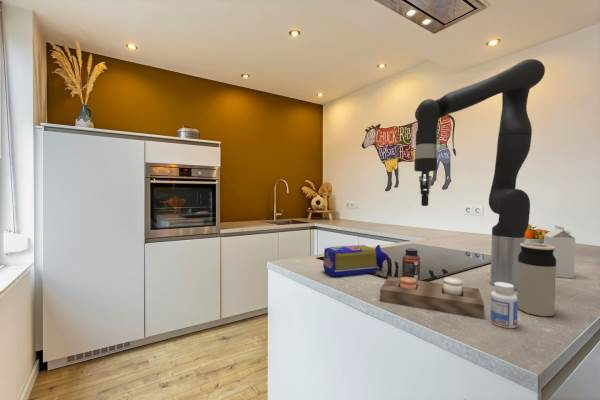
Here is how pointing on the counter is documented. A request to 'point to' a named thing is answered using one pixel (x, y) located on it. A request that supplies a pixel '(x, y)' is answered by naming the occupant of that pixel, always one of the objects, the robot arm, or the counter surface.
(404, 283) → the orange lidded jar
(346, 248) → the bread
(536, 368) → the counter surface
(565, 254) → the milk carton
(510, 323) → the pill bottle
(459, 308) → the panel
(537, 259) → the travel mug
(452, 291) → the white lidded jar
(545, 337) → the counter surface
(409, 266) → the supplement bottle
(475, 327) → the counter surface
